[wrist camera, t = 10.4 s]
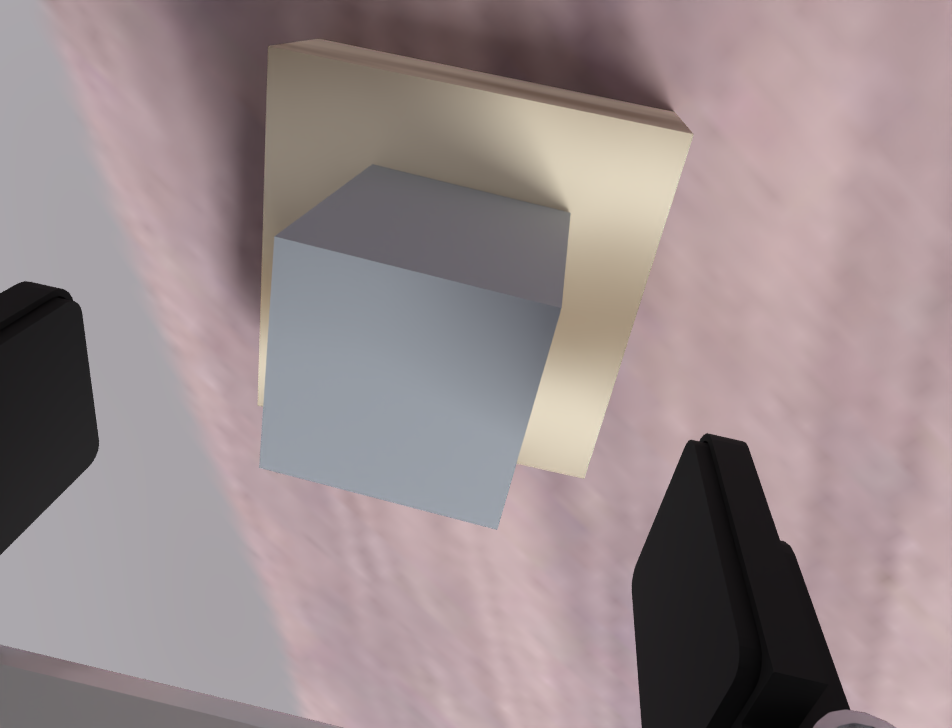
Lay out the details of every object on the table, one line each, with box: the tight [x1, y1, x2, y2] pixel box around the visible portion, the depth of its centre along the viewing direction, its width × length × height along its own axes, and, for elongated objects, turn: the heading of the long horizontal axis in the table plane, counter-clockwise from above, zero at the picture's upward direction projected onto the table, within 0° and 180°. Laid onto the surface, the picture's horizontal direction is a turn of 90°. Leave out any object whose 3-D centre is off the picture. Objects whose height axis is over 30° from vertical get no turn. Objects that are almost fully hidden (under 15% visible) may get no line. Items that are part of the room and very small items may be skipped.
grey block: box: [259, 164, 571, 530], centre depth 15 cm, size 5×5×6 cm
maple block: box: [258, 39, 694, 479], centre depth 20 cm, size 10×10×4 cm
